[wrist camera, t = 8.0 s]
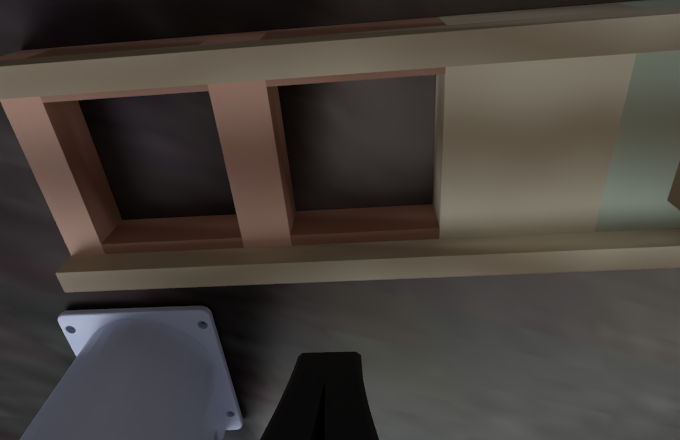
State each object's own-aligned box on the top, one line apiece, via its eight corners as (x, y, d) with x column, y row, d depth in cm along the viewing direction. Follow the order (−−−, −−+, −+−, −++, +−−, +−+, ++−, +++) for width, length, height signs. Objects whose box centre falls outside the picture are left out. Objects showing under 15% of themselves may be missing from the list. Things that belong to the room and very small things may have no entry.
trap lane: (762, 217, 20) (835, 266, 17) (101, 248, 22) (60, 296, 19) (868, -18, 15) (994, -9, 12) (20, 50, 17) (-53, 72, 14)
